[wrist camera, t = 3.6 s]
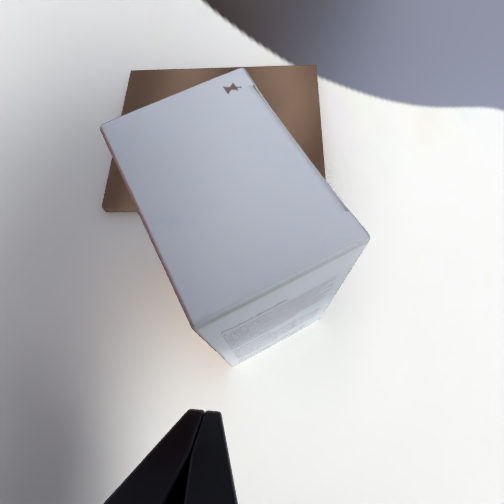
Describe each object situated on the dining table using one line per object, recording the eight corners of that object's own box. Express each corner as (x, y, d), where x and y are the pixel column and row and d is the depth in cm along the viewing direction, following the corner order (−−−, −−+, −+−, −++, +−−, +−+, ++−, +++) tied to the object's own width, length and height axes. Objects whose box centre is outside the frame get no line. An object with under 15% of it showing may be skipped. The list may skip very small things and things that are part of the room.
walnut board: (105, 211, 23) (101, 206, 22) (133, 77, 27) (131, 70, 27) (325, 209, 22) (327, 204, 21) (315, 71, 27) (316, 64, 26)
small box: (172, 248, 21) (92, 119, 12) (254, 209, 22) (242, 58, 12) (231, 371, 18) (187, 334, 9) (323, 321, 19) (376, 235, 9)
